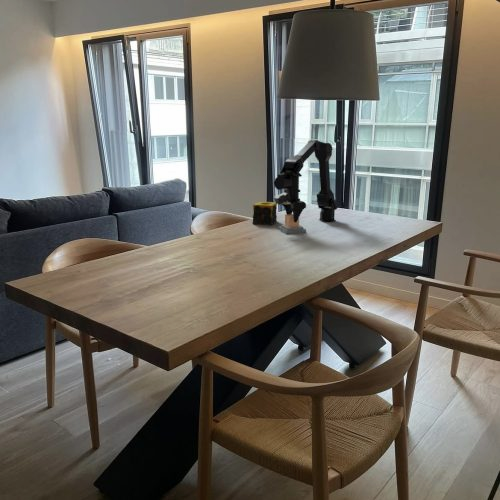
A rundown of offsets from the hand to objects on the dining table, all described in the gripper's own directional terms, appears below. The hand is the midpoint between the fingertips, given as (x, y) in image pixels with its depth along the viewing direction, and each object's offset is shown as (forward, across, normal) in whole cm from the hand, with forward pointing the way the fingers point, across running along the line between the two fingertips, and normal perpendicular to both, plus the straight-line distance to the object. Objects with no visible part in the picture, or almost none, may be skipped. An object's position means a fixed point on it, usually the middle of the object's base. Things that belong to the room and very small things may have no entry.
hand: (292, 220), depth 229 cm
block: (+2, 0, 0) cm, 3 cm away
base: (+5, 0, 0) cm, 5 cm away
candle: (+5, -22, -6) cm, 23 cm away
